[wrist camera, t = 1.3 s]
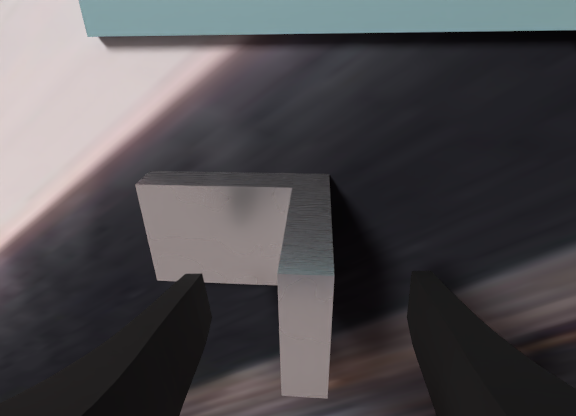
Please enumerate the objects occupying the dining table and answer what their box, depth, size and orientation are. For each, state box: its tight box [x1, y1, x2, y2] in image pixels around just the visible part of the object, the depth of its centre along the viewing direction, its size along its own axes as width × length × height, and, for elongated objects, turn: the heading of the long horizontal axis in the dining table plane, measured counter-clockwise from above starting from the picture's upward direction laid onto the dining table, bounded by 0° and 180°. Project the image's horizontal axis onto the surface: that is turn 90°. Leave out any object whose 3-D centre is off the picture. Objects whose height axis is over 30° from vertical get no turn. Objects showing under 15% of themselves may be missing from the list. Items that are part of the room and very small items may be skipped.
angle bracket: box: [135, 171, 334, 399], centre depth 14 cm, size 8×5×7 cm, turn 91°
